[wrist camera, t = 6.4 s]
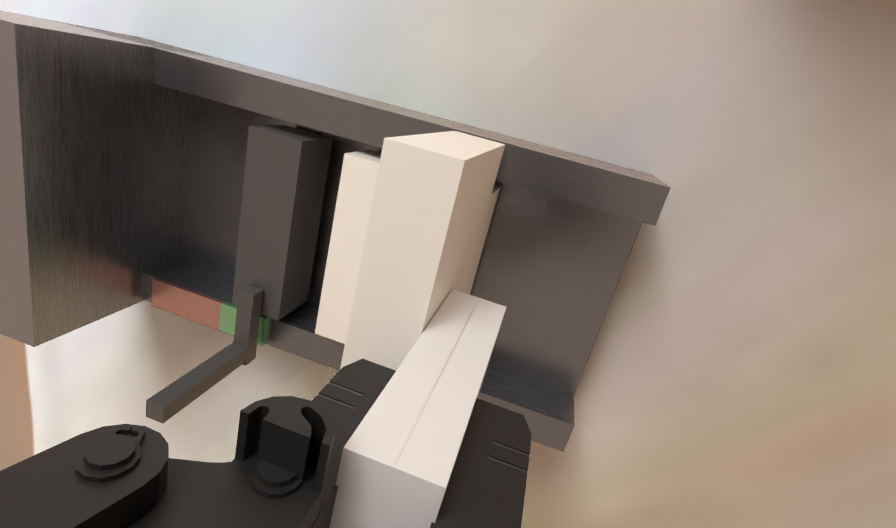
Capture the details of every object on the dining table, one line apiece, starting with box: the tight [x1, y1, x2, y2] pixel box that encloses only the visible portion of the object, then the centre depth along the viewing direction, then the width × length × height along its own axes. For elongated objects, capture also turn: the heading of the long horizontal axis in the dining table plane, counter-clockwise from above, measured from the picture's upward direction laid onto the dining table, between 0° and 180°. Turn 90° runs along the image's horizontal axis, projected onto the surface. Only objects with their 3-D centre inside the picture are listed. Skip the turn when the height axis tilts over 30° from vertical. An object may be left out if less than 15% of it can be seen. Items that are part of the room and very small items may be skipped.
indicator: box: [146, 125, 333, 423], centre depth 16 cm, size 2×9×7 cm, turn 165°
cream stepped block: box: [315, 131, 505, 371], centre depth 15 cm, size 5×10×8 cm, turn 166°
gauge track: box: [0, 11, 670, 452], centre depth 17 cm, size 22×10×8 cm, turn 76°
